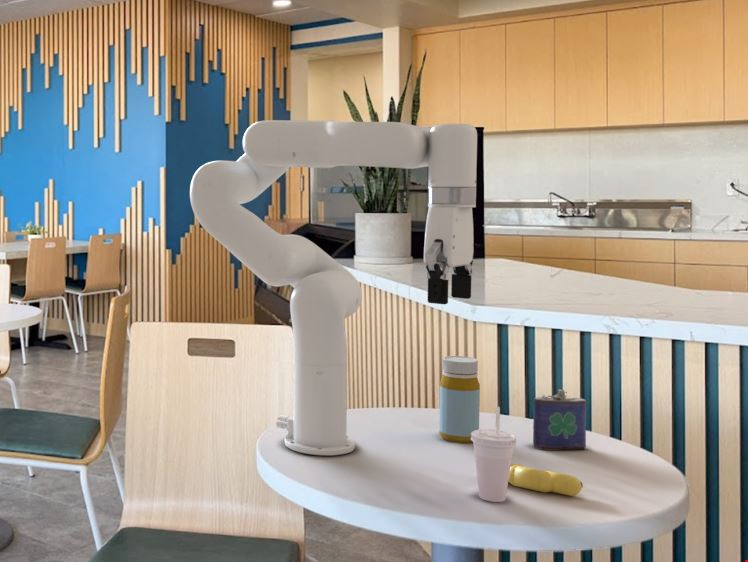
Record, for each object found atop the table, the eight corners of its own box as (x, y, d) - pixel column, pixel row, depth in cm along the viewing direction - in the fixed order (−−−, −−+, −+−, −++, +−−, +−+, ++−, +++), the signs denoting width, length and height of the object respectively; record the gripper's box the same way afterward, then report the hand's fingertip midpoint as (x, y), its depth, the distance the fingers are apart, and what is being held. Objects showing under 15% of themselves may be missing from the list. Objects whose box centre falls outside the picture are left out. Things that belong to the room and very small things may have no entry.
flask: (581, 445, 158) (583, 387, 158) (589, 450, 155) (590, 391, 155) (530, 445, 158) (531, 387, 158) (537, 450, 156) (538, 391, 155)
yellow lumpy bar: (480, 481, 139) (480, 461, 139) (489, 474, 142) (490, 455, 142) (576, 502, 130) (577, 481, 129) (584, 495, 133) (584, 474, 133)
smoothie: (511, 508, 127) (513, 414, 127) (465, 500, 131) (467, 408, 130) (518, 495, 133) (520, 404, 132) (474, 487, 136) (475, 399, 135)
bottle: (482, 436, 164) (483, 357, 164) (474, 445, 158) (475, 364, 158) (444, 430, 168) (445, 354, 167) (435, 439, 162) (436, 360, 161)
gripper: (450, 197, 153) (448, 294, 154) (407, 198, 140) (405, 303, 141) (493, 198, 148) (491, 297, 149) (453, 199, 135) (451, 308, 136)
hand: (449, 300), depth 145 cm, fingers open, 9 cm apart
